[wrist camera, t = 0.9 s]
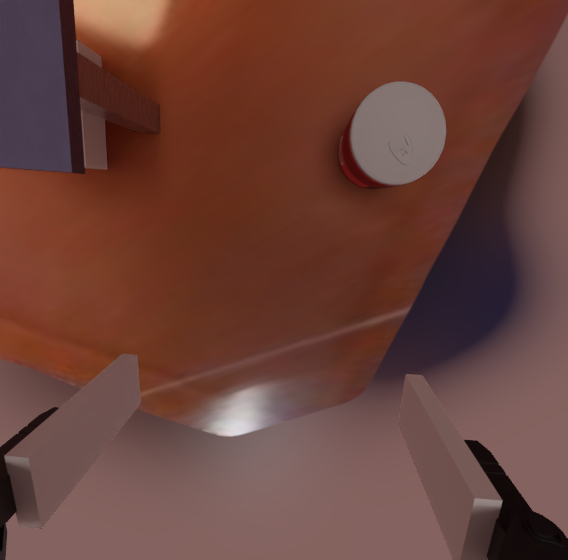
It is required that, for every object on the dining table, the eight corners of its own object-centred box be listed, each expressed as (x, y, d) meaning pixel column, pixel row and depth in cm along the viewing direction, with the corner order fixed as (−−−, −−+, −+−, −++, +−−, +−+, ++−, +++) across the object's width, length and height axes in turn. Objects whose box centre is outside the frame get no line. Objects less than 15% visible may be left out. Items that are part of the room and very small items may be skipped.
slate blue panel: (70, 44, 37) (-94, -63, 22) (158, 50, 36) (54, -56, 21) (79, 176, 40) (-56, 162, 25) (160, 182, 40) (72, 172, 25)
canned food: (369, 203, 39) (393, 204, 28) (322, 151, 38) (329, 132, 27) (421, 154, 37) (468, 136, 26) (374, 99, 36) (403, 57, 25)
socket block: (-19, 49, 37) (-57, 32, 33) (101, 56, 37) (77, 40, 33) (-5, 161, 40) (-38, 157, 36) (107, 169, 40) (86, 166, 36)
